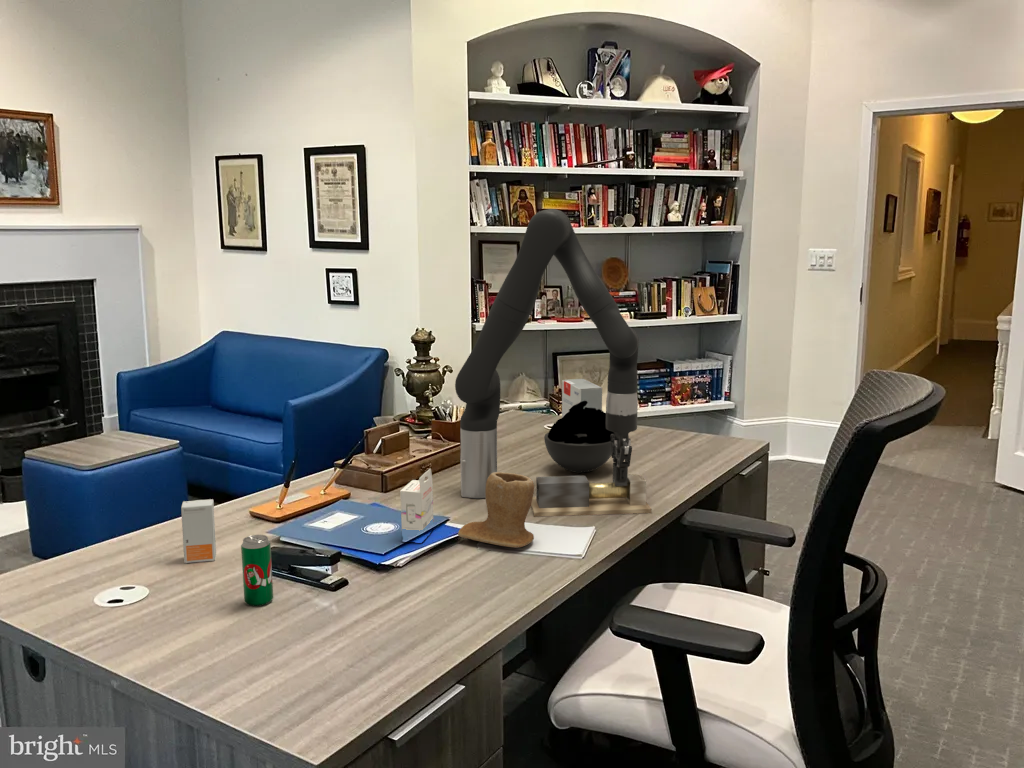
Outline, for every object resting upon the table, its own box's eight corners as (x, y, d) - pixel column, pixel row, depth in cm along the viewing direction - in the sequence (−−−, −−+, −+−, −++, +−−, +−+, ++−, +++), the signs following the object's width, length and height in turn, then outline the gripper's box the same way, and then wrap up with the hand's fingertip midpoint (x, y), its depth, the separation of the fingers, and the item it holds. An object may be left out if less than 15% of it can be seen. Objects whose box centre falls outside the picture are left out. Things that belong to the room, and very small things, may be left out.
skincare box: (184, 564, 173) (180, 507, 171) (186, 556, 177) (182, 501, 175) (215, 561, 175) (212, 504, 173) (217, 553, 179) (213, 498, 177)
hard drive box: (560, 441, 274) (561, 379, 270) (583, 439, 276) (583, 378, 272) (578, 453, 259) (579, 388, 255) (602, 451, 261) (603, 386, 258)
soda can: (262, 593, 159) (259, 531, 157) (279, 600, 156) (275, 537, 154) (238, 602, 155) (234, 539, 153) (255, 610, 152) (251, 545, 150)
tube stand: (534, 516, 202) (534, 487, 200) (528, 500, 213) (528, 473, 212) (651, 513, 204) (652, 484, 203) (639, 497, 216) (640, 470, 215)
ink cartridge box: (413, 529, 193) (411, 466, 191) (434, 531, 192) (433, 467, 190) (400, 542, 185) (398, 476, 182) (422, 544, 184) (421, 478, 181)
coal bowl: (591, 486, 226) (592, 415, 222) (529, 473, 238) (530, 406, 234) (629, 469, 241) (630, 403, 238) (569, 458, 253) (570, 395, 250)
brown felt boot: (544, 538, 188) (544, 471, 185) (518, 556, 178) (518, 486, 175) (484, 526, 195) (484, 462, 192) (456, 543, 185) (455, 476, 182)
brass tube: (572, 501, 206) (572, 467, 205) (569, 496, 210) (569, 463, 208) (641, 499, 208) (642, 465, 206) (638, 494, 211) (638, 461, 210)
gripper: (600, 404, 212) (599, 472, 215) (612, 416, 198) (610, 489, 201) (630, 404, 212) (628, 471, 215) (644, 416, 199) (642, 488, 202)
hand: (620, 479), depth 208 cm, fingers closed on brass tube, 3 cm apart
